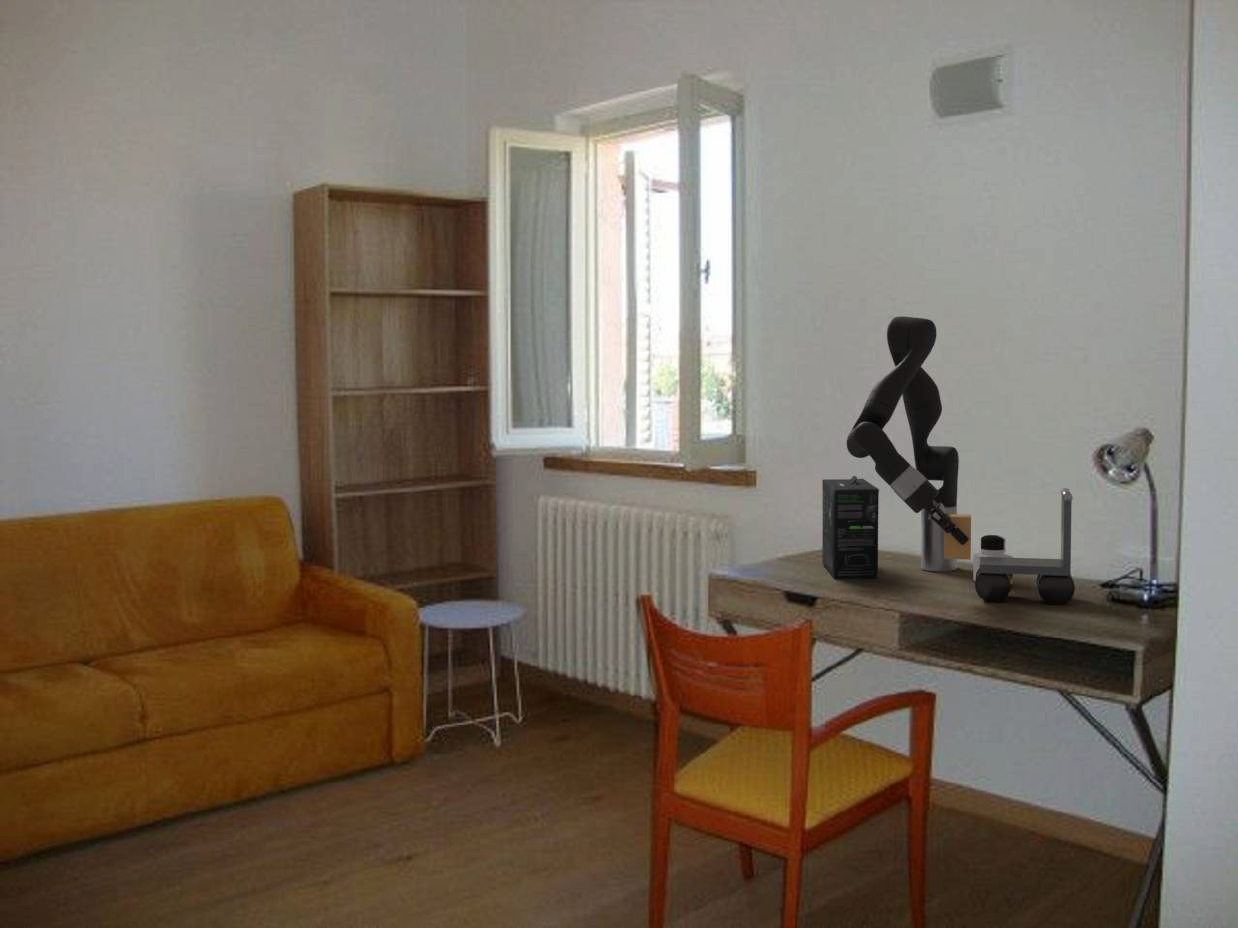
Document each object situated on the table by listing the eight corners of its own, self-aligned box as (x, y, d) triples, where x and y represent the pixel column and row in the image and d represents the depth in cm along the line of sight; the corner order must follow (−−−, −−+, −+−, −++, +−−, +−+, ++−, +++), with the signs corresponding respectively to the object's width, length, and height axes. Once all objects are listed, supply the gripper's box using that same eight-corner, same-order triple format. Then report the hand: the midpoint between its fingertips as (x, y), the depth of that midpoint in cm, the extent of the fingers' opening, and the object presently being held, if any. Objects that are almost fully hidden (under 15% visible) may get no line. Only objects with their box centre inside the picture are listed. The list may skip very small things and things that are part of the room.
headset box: (879, 578, 320) (879, 480, 317) (833, 579, 320) (833, 481, 318) (864, 564, 342) (864, 471, 340) (821, 564, 342) (820, 472, 340)
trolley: (975, 592, 299) (976, 486, 297) (1071, 596, 293) (1073, 487, 290) (974, 602, 288) (975, 492, 285) (1074, 606, 281) (1076, 493, 279)
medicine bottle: (988, 586, 307) (988, 538, 306) (972, 581, 314) (973, 534, 313) (1013, 584, 309) (1013, 536, 308) (997, 579, 316) (997, 533, 315)
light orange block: (944, 555, 293) (944, 514, 292) (970, 556, 291) (971, 514, 291) (943, 558, 289) (944, 516, 288) (970, 559, 287) (970, 517, 286)
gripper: (923, 481, 284) (977, 534, 281) (927, 475, 297) (978, 525, 295) (900, 503, 286) (953, 556, 283) (904, 496, 299) (955, 547, 297)
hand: (965, 540), depth 289 cm, fingers closed on light orange block, 4 cm apart
